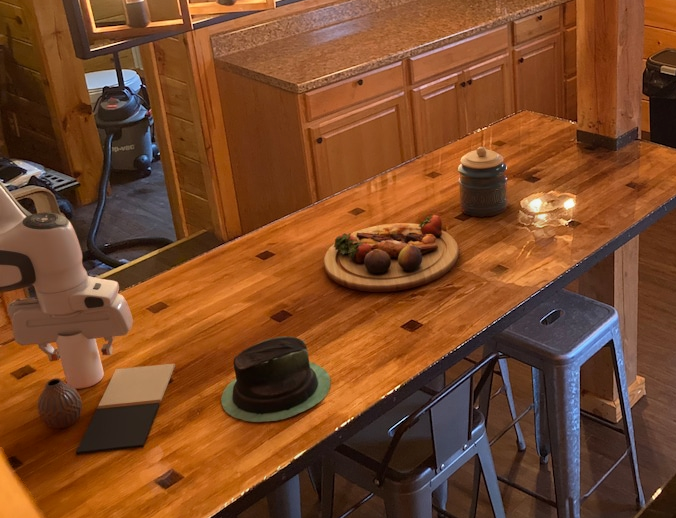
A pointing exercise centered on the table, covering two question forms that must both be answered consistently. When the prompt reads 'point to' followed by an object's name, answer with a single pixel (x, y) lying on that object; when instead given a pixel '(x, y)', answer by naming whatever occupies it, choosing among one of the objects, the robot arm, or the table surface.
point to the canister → (483, 183)
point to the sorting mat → (127, 409)
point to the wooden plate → (391, 256)
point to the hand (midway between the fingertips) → (82, 356)
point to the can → (80, 360)
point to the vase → (59, 404)
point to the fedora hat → (274, 381)
